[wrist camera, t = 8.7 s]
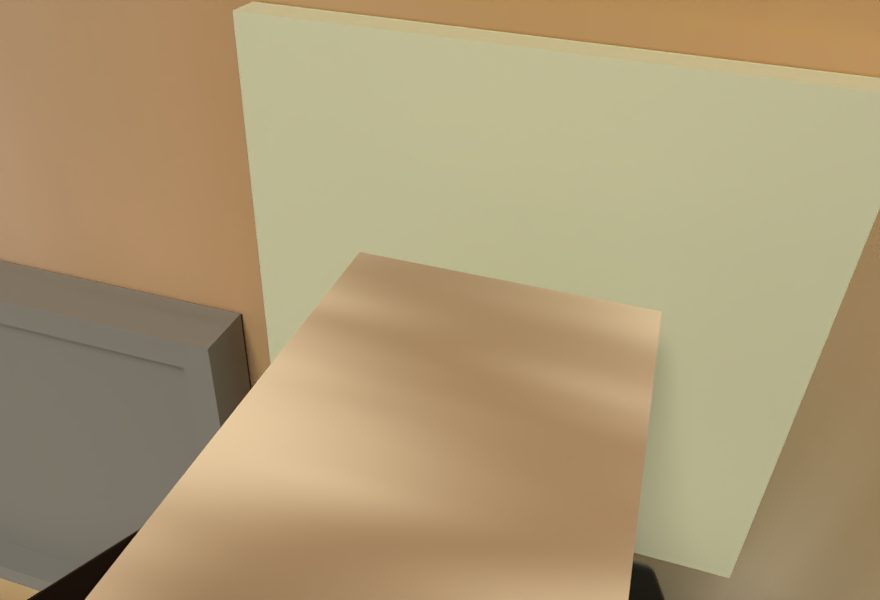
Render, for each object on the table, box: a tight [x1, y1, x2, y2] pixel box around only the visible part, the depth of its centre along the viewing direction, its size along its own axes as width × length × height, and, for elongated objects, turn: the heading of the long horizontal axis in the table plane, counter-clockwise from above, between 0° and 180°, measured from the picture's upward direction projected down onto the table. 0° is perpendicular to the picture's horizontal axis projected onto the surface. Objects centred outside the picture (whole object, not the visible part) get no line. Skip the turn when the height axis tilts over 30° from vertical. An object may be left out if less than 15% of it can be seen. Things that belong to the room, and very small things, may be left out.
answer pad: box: [233, 2, 880, 578], centre depth 13 cm, size 9×9×1 cm
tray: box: [0, 260, 250, 591], centre depth 18 cm, size 10×10×1 cm
